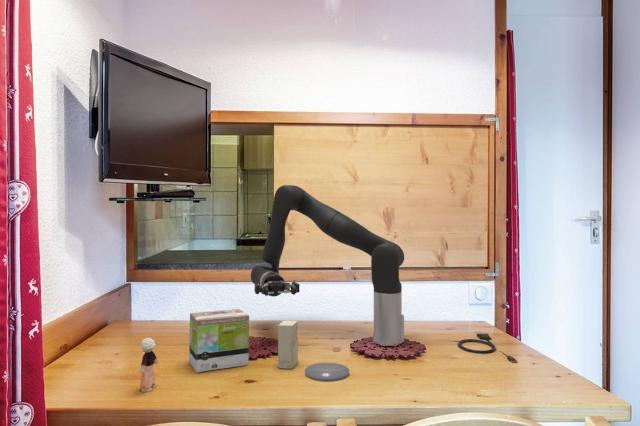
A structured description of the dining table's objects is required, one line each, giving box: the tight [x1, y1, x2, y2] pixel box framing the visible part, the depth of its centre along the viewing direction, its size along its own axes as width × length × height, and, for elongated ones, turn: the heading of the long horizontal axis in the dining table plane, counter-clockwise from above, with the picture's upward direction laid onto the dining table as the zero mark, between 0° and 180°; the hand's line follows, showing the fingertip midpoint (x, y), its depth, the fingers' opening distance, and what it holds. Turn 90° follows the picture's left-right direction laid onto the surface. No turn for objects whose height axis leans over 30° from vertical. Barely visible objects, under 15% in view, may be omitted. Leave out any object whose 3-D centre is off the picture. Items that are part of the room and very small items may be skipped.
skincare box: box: [277, 320, 299, 370], centre depth 132 cm, size 6×4×12 cm
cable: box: [457, 333, 518, 364], centre depth 148 cm, size 14×28×2 cm, turn 177°
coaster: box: [304, 362, 350, 382], centre depth 125 cm, size 12×12×1 cm
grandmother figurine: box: [139, 337, 158, 393], centre depth 114 cm, size 8×4×13 cm, turn 5°
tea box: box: [188, 308, 250, 374], centre depth 132 cm, size 15×10×15 cm
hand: (280, 291), depth 142 cm, fingers open, 8 cm apart
